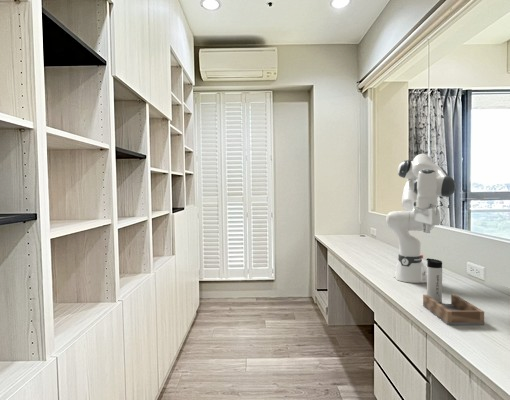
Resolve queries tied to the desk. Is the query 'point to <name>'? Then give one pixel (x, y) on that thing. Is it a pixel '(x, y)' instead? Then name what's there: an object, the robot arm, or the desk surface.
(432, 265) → the travel mug
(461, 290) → the desk surface
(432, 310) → the u rest
